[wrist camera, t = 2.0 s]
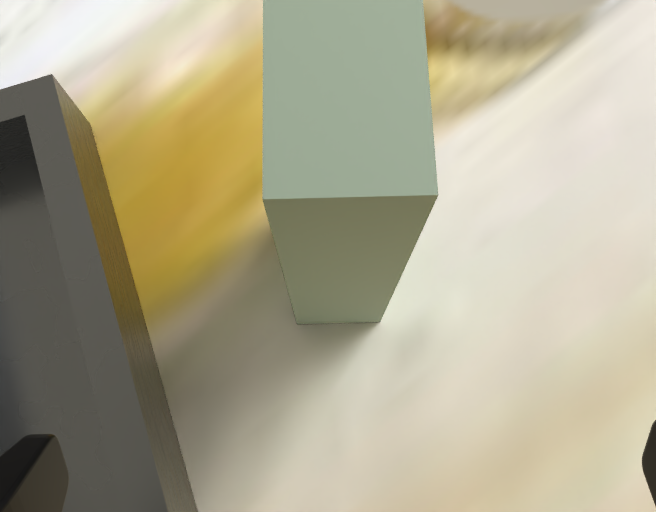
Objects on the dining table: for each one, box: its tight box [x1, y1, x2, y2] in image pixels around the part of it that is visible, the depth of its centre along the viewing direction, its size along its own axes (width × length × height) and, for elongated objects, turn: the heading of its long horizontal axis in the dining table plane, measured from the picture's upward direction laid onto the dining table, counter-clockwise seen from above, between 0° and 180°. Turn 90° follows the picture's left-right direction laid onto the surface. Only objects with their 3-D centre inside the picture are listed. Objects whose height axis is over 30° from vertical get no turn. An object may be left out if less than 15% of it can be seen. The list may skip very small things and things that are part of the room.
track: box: [0, 74, 198, 512], centre depth 21 cm, size 16×7×4 cm, turn 19°
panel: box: [263, 0, 438, 324], centre depth 17 cm, size 3×4×12 cm
